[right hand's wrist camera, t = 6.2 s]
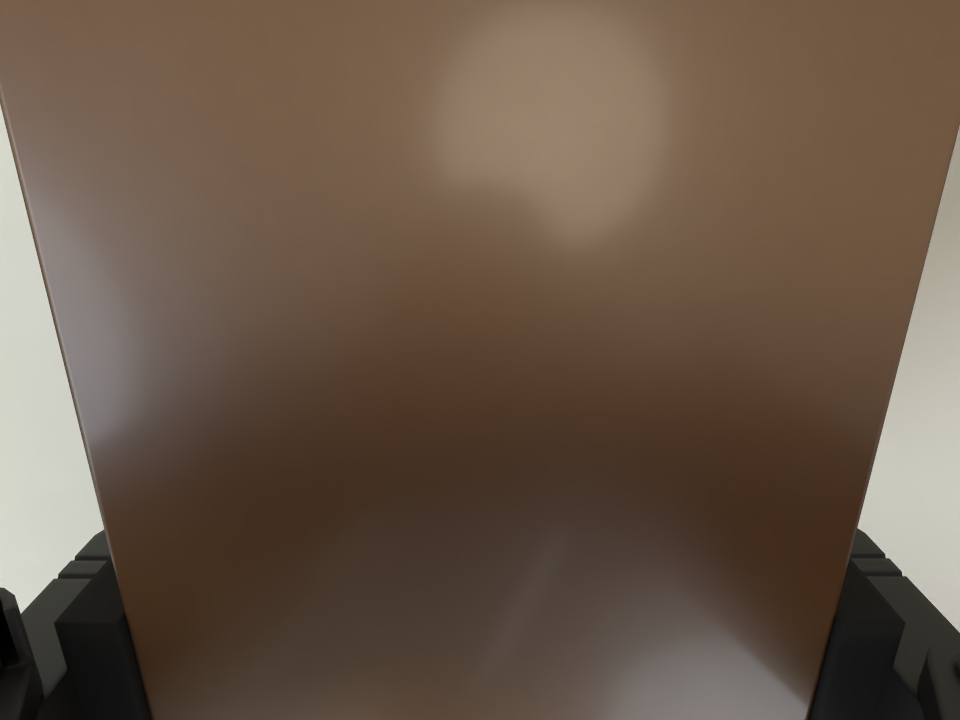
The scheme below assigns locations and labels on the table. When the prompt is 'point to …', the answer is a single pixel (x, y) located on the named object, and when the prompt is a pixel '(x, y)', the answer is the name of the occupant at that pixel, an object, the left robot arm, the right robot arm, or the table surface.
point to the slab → (481, 335)
